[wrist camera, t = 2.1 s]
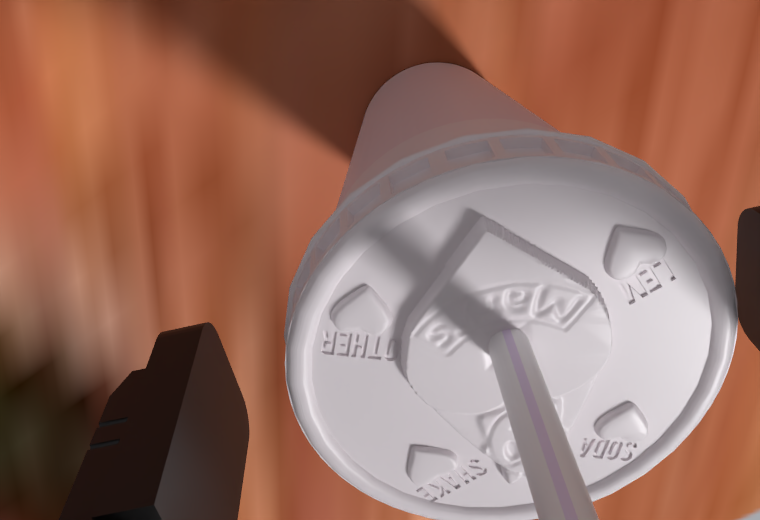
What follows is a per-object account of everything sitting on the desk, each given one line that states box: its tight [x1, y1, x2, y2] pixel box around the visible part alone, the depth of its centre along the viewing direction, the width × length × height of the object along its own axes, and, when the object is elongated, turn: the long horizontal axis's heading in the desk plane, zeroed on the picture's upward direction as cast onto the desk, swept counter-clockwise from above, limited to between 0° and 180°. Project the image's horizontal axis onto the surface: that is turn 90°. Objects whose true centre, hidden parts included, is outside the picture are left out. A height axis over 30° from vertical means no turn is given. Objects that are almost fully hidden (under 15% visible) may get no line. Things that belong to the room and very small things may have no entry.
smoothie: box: [284, 63, 738, 520], centre depth 12 cm, size 6×6×14 cm
